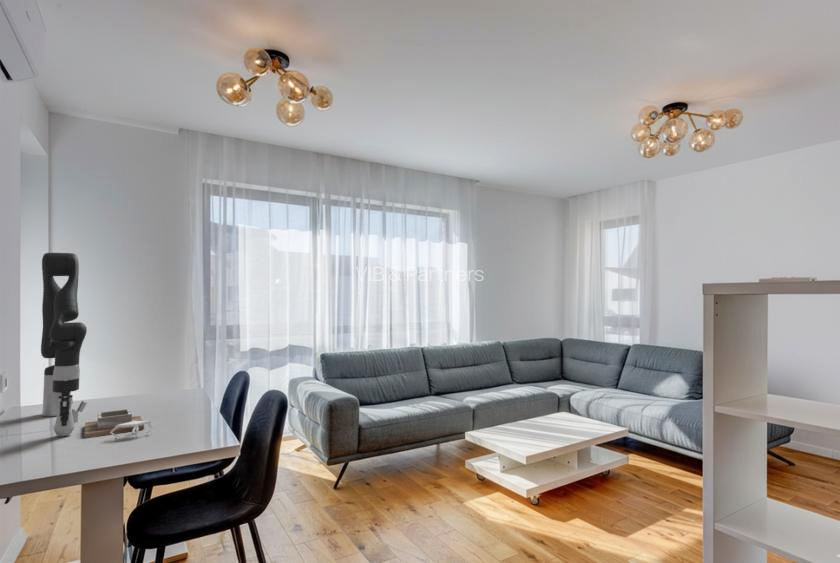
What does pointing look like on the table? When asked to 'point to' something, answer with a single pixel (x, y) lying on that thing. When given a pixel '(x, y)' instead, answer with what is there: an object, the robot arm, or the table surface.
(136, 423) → the white bent open piece
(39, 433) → the table surface
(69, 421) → the salt shaker
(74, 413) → the lighter
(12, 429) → the table surface
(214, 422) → the table surface
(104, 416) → the wooden base with frame
